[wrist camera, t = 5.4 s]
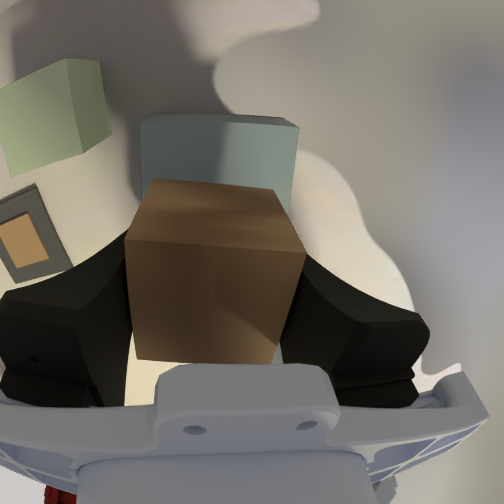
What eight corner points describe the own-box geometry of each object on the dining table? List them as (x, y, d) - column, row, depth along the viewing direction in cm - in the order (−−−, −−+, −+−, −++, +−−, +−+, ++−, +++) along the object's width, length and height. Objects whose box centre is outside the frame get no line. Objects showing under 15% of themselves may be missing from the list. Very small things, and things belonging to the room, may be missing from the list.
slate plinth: (282, 117, 18) (299, 127, 15) (269, 229, 22) (280, 260, 19) (153, 113, 17) (139, 122, 13) (157, 228, 21) (148, 259, 18)
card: (37, 186, 17) (33, 189, 17) (73, 266, 21) (71, 270, 21) (-19, 213, 17) (-22, 216, 17) (16, 281, 21) (14, 285, 21)
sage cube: (99, 60, 14) (65, 58, 10) (112, 133, 17) (83, 153, 13) (35, 85, 14) (-8, 94, 10) (48, 153, 17) (10, 177, 12)
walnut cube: (273, 189, 13) (307, 252, 9) (253, 284, 15) (271, 364, 11) (153, 178, 12) (124, 239, 8) (152, 277, 14) (137, 359, 10)
